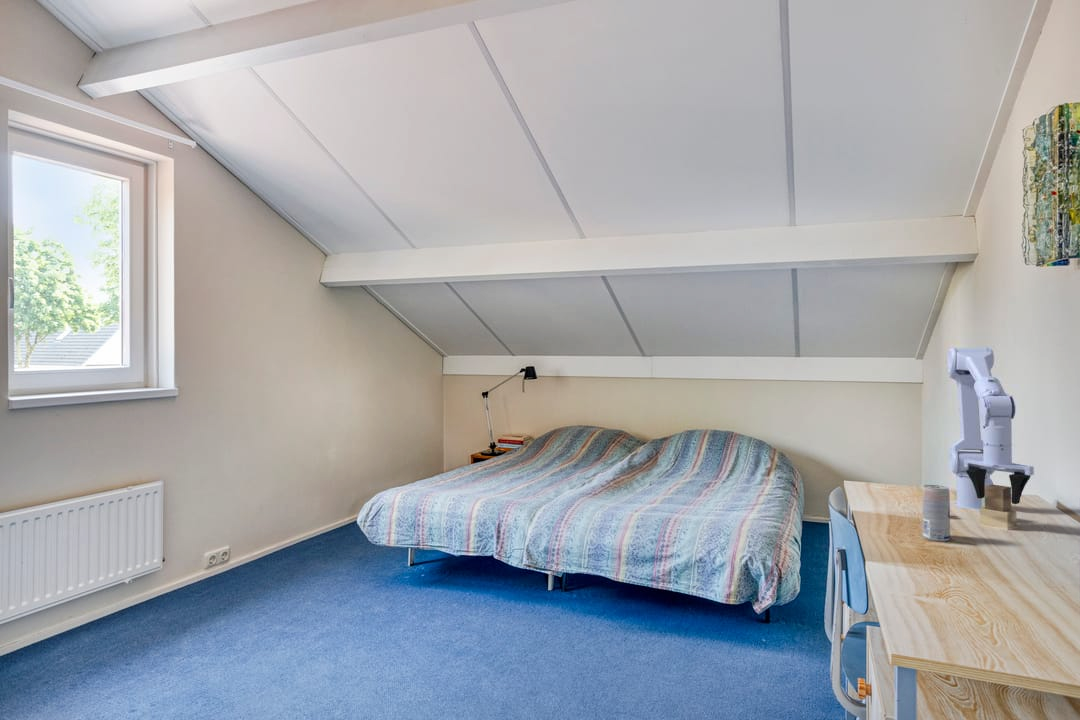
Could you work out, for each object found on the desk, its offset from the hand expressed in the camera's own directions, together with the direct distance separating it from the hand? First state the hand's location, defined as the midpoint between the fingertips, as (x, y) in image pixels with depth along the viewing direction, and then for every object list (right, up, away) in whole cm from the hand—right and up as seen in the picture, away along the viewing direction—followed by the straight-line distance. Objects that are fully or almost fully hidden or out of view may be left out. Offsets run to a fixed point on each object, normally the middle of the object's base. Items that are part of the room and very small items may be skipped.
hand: (997, 500), depth 161 cm
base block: (0, -6, 0) cm, 6 cm away
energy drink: (-20, -7, -9) cm, 23 cm away
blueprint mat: (+1, -7, +3) cm, 7 cm away
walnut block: (0, -2, 0) cm, 2 cm away
